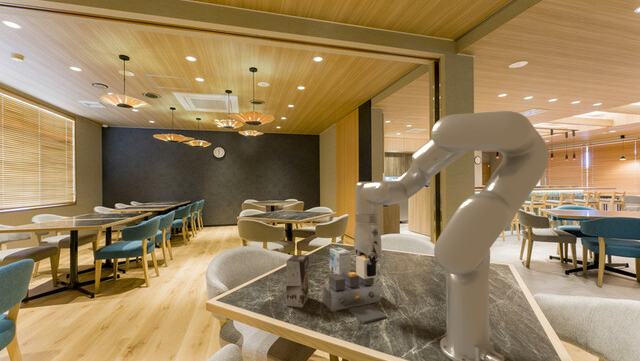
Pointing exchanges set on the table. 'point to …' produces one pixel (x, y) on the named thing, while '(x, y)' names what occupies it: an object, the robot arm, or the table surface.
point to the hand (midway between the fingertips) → (366, 272)
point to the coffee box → (297, 280)
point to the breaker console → (350, 296)
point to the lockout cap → (363, 267)
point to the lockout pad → (367, 313)
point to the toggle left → (337, 282)
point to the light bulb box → (340, 260)
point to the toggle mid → (351, 278)
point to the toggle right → (366, 281)
